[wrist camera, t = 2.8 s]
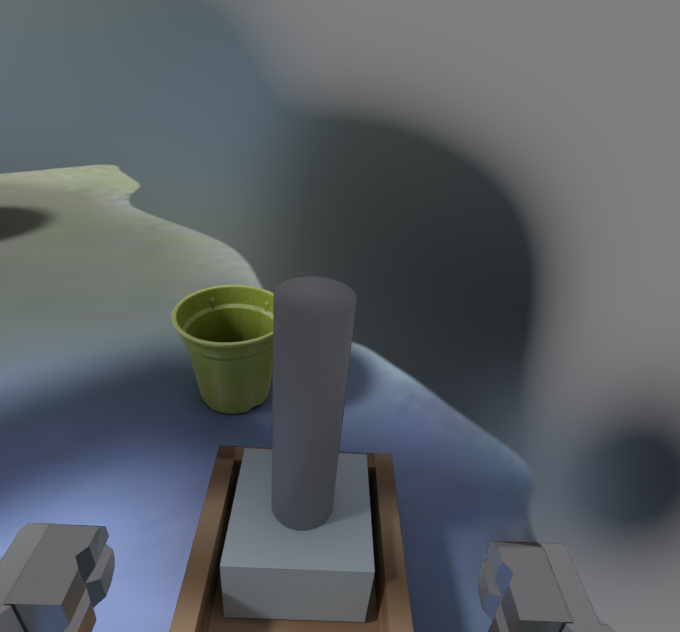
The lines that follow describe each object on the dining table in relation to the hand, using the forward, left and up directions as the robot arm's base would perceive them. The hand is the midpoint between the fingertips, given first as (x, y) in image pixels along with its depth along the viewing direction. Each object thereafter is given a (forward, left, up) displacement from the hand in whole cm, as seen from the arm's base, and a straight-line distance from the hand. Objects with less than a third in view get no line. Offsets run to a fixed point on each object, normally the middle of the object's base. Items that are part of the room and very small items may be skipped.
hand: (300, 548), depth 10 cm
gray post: (-11, +6, -20) cm, 23 cm away
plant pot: (-28, +8, -20) cm, 35 cm away
